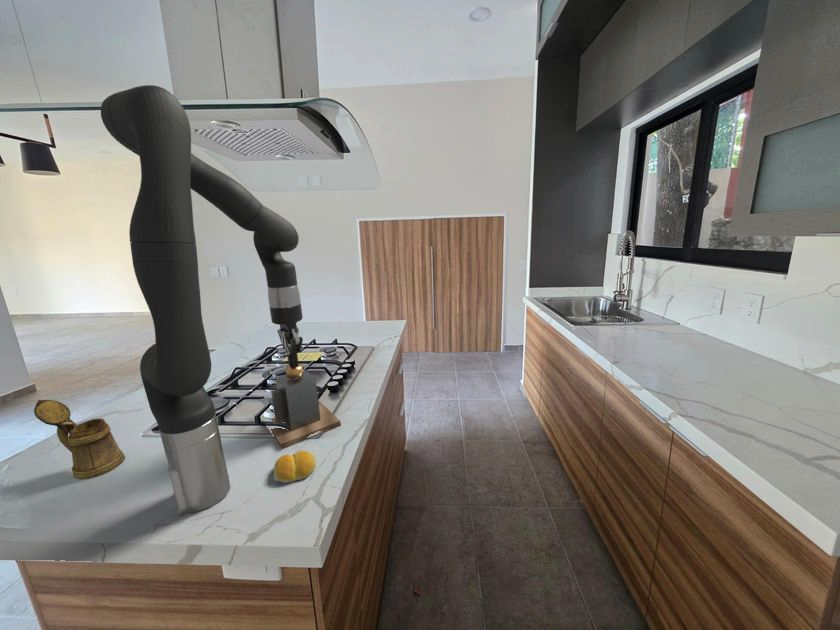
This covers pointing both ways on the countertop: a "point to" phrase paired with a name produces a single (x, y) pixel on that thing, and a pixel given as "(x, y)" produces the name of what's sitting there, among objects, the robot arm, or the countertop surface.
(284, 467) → the bread roll
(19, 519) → the countertop surface
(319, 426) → the serving board
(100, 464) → the wooden mug
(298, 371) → the plunger
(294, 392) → the block
